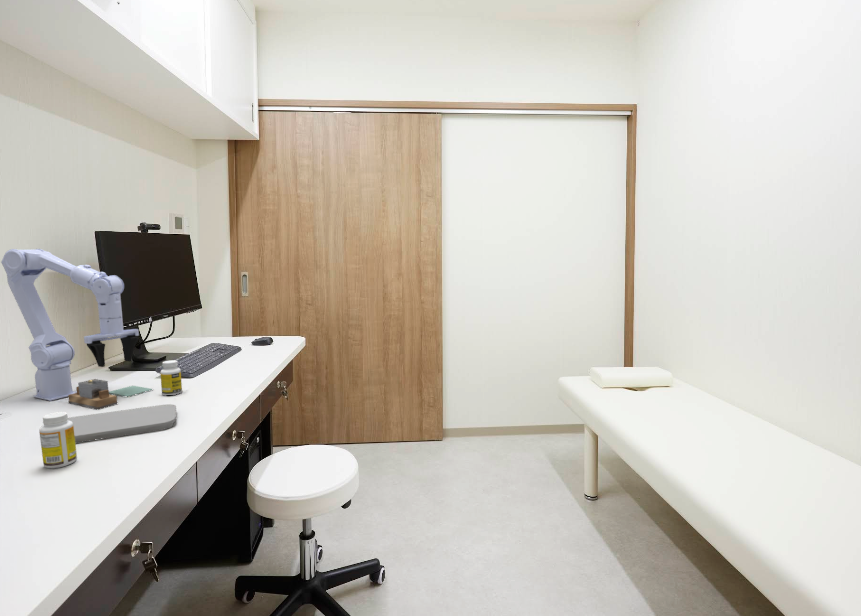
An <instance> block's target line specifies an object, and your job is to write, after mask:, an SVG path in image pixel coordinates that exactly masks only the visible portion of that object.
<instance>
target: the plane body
mask: <svg viewBox="0 0 861 616" xmlns="http://www.w3.org/2000/svg"><path fill="white" fill-rule="evenodd" d="M75 389H76V392H77V393H74V394H70V395H68V404H71V405H75V406H79V407H83V406H84V407H83V408H88V407H89V408H88V409H92V408H94V409H93V410H97V409H98V410H101V409H100V408H102V409H104V407H105V408H108V406H109V407H112V406H111V405H113V406H115V405H114V404H116V405H118V404H119V402H118V398H117V396H118V395H113V394H109V391H110V390H109V389H108V390H103V391H99V398H95V399H88V398H84V397H80V395H79V385H78V386H76V388H75ZM117 403H118V404H117Z"/></svg>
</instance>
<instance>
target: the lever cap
mask: <svg viewBox="0 0 861 616" xmlns="http://www.w3.org/2000/svg"><path fill="white" fill-rule="evenodd" d="M108 382H109V381H108V380H104V379H103V380H102V379H98V378H97V379H96V378H93V379H88V380H85V381H80V382H77V383H78V386H79V395H80V397H84V398H88V399H95V398H99V391H103V390H109V384H108Z"/></svg>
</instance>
